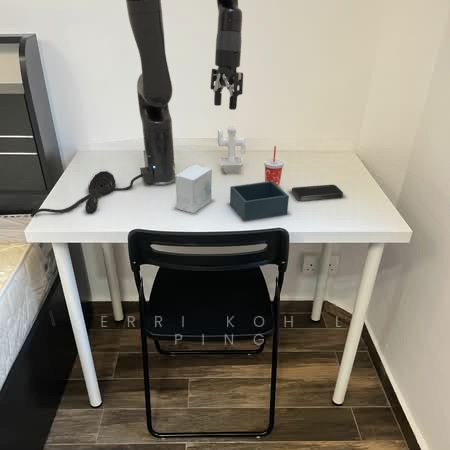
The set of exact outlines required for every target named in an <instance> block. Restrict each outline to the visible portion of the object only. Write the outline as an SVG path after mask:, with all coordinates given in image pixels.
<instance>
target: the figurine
mask: <svg viewBox="0 0 450 450" xmlns="http://www.w3.org/2000/svg"><path fill="white" fill-rule="evenodd" d="M223 133H224V132H223V130H222V129H221V128H219V129H218V130H217V145H218V146H219V147H226V148H227V157H219V159H220V163H221V166H222V169H223V171H224V173H225V175H234V174H236V175H237V174H239V173H240V171H241V170H242V167H243V166H244V162H243V160H242V157H241V156H240V157H239V156H236V147H239V148H240V150H239V151H240V154H241V155H245V153H246V138H244V137H236V134H237V127H236V126H232V125H231V126H228V127H227V137H224V134H223Z"/></svg>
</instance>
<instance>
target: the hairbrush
mask: <svg viewBox="0 0 450 450" xmlns="http://www.w3.org/2000/svg"><path fill="white" fill-rule="evenodd" d="M92 175H93V176H91V179H90V180H89V182H88V188H87V189H88V194H90V193H92V194H91V196H90V197H89V198H88V199H86V202H85V206H84V209H85V212H86V213H87V214H91V215H92V214H93V213H94V212H95V211H96V210H97V208H98V200H99V199H98V198H99V196H100V195H102V196H103V195H108V194H111V193H113V188H116V178H115V177H114V174H113V173H112V172H110V171H109V170H107V169H104V170H103V171H102V170H100V171H99V172H96V173H93V174H92ZM101 188H102V190H101ZM103 188H104V189H103ZM105 188H106V189H105ZM98 189H100V190H98ZM95 190H98V191H95Z"/></svg>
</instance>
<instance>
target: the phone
mask: <svg viewBox="0 0 450 450" xmlns="http://www.w3.org/2000/svg"><path fill="white" fill-rule="evenodd" d="M291 194H292V195H293V196H294V197H295V199H296V200H297V201H300V202H302V201H303V202H305V201H315V200H317V201H318V200H328V199H329V200H330V199H341V198H343V197H344V192H343V191H342V190H341V188H339V187H338V185H336V184H322V185H307V186H293V187H291Z"/></svg>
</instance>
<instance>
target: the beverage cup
mask: <svg viewBox="0 0 450 450" xmlns="http://www.w3.org/2000/svg"><path fill="white" fill-rule="evenodd" d="M276 151H277V146H276V145H274V147H273V158H269V159H266V160H264V162H263V166H264V182H268V181H273V182H274V183H275V184H276V185H277V186H278V187H279V188H280V186H281V179H282V173H283V167H284V163H285V162H284V161H283V160H280V159H277V158H276Z"/></svg>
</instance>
